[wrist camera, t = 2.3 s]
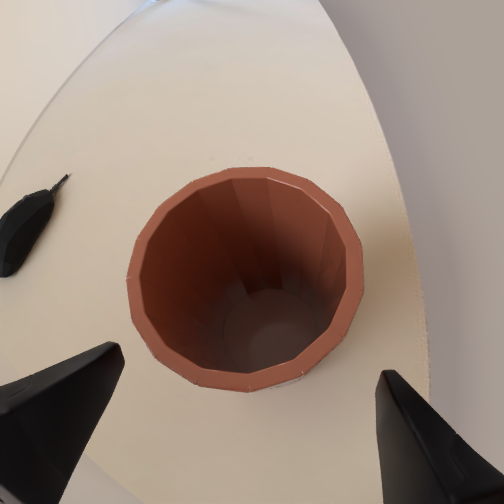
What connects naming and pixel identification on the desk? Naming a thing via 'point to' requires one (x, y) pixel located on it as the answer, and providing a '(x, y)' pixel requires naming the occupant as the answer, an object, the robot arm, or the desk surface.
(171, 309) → the pen cup
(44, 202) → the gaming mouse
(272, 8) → the desk surface
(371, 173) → the desk surface
